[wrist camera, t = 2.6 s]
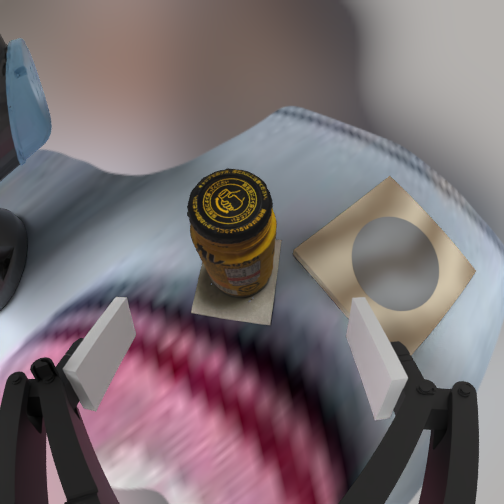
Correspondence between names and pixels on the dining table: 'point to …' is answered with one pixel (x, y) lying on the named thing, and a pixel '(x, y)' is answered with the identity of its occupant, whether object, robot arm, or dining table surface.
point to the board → (388, 263)
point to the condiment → (234, 246)
